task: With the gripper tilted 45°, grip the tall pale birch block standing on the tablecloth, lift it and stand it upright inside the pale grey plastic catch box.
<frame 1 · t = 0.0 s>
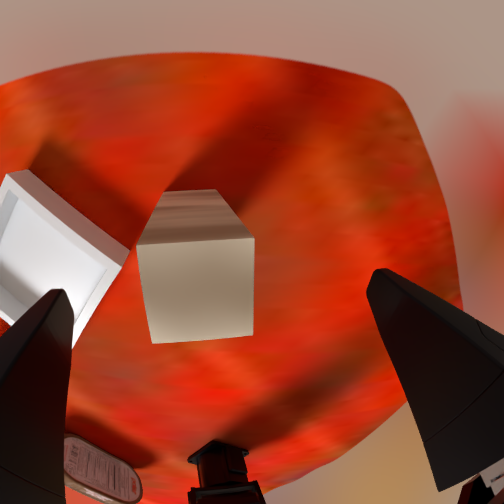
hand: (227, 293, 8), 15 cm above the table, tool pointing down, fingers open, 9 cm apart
birch block: (190, 216, 22), on the table
catch box: (46, 263, 20), on the table
tin: (99, 449, 30), on the table
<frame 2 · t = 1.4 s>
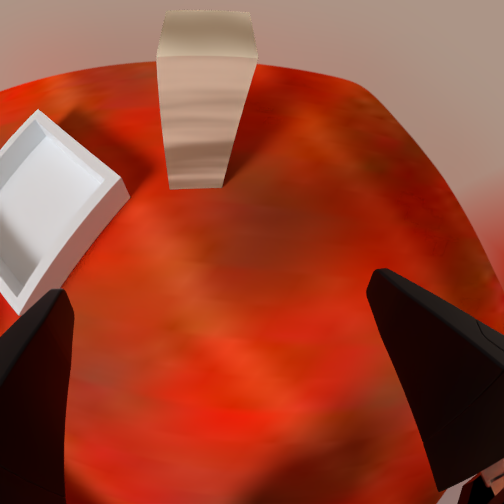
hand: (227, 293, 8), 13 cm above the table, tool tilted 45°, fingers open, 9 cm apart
birch block: (195, 165, 22), on the table
catch box: (39, 212, 19), on the table
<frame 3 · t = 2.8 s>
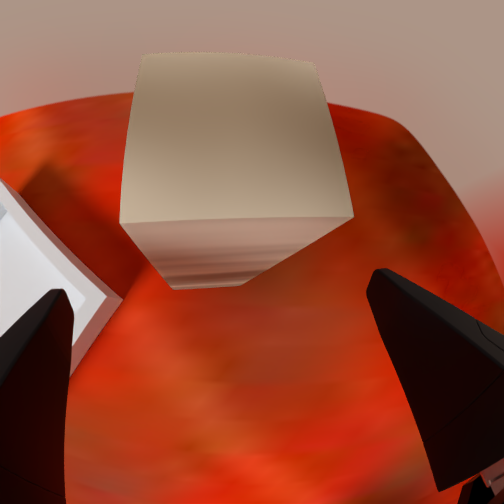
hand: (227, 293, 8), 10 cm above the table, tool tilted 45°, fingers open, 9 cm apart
birch block: (204, 254, 17), on the table
catch box: (16, 309, 14), on the table
when the fingers open (8 cm above the table, at t = 8.0 s): birch block drops 1 cm, resting on catch box.
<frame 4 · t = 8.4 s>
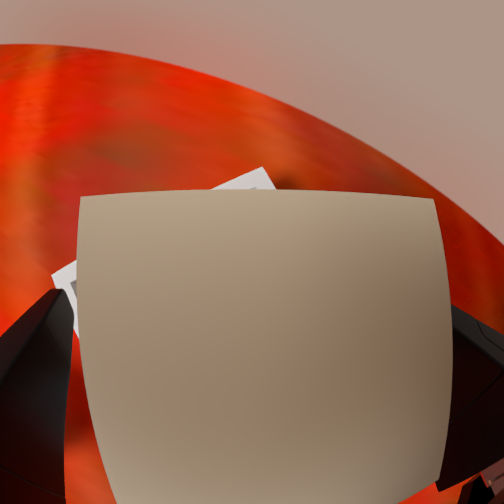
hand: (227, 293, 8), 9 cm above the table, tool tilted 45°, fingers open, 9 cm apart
birch block: (212, 327, 15), point 1 cm above the table, touching catch box
catch box: (211, 327, 16), on the table
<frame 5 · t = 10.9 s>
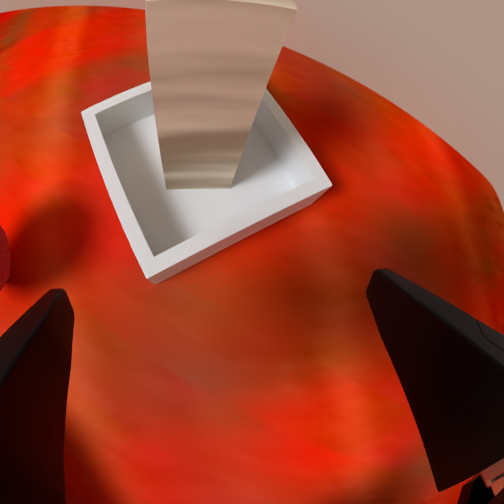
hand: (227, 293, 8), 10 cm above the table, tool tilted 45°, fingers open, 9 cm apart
birch block: (198, 160, 18), point 1 cm above the table, touching catch box
catch box: (197, 166, 19), on the table
strawberry: (5, 274, 15), on the table
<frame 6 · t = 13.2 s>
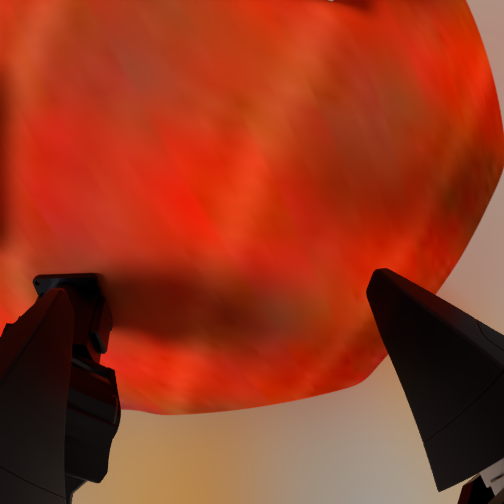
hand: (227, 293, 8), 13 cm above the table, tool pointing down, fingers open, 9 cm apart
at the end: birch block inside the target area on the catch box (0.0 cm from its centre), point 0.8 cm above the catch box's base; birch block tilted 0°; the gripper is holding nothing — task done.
